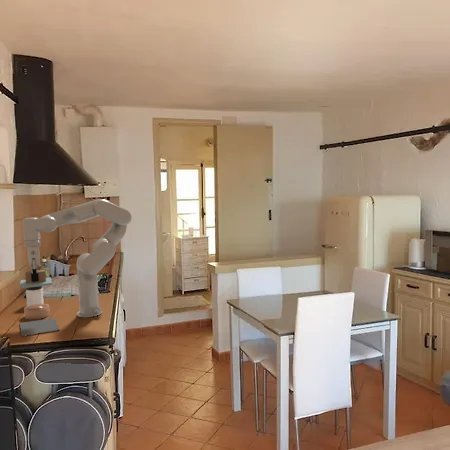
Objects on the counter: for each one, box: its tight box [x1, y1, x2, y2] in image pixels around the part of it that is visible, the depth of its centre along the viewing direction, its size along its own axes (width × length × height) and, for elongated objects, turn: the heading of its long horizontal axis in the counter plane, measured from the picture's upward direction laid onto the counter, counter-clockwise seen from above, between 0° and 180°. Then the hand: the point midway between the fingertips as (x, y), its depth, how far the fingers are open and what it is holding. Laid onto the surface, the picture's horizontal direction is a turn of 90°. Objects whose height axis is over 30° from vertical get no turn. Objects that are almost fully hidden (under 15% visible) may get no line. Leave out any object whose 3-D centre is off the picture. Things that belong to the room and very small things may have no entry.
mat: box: [19, 317, 60, 337], centre depth 215 cm, size 20×16×1 cm
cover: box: [19, 269, 53, 289], centre depth 220 cm, size 14×14×6 cm
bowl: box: [23, 303, 51, 320], centre depth 232 cm, size 12×12×5 cm
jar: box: [25, 286, 45, 306], centre depth 252 cm, size 9×8×12 cm
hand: (35, 279), depth 220 cm, fingers closed on cover, 4 cm apart
